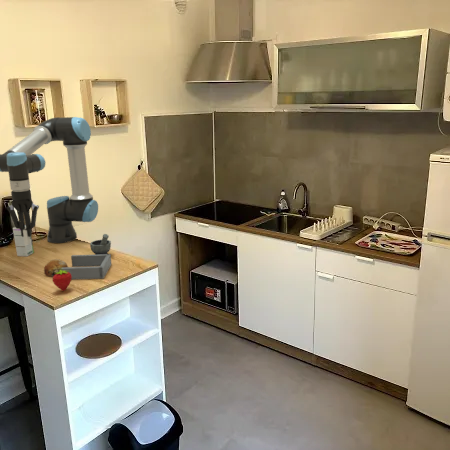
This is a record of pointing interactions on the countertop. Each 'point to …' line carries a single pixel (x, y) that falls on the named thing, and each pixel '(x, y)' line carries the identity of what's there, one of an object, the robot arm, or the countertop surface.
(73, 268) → the box
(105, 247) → the mortar and pestle
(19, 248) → the syrup box
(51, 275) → the bread roll
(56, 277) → the strawberry
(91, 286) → the countertop surface
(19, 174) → the robot arm
